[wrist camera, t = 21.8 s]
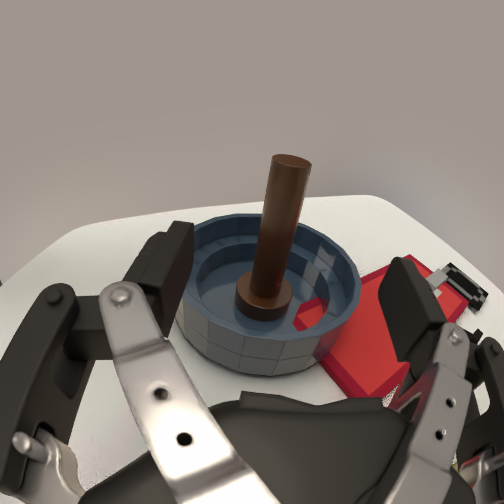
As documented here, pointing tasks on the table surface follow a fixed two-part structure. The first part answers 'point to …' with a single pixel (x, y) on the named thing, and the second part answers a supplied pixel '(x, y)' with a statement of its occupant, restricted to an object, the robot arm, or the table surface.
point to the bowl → (265, 332)
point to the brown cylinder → (274, 241)
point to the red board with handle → (385, 330)
